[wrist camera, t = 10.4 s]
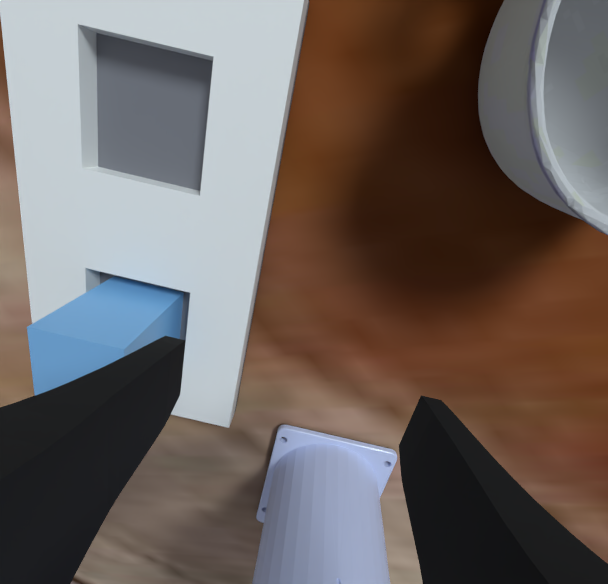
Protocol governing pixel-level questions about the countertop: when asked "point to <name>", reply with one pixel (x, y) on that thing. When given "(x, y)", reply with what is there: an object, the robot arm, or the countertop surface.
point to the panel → (154, 159)
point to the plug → (100, 329)
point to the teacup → (550, 102)
